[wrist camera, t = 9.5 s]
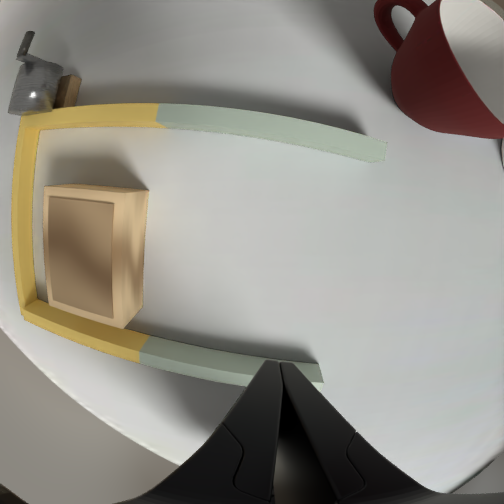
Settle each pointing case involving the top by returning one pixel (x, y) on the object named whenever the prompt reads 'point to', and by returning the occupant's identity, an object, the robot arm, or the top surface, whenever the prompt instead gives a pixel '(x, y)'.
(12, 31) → the top surface
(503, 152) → the white cup
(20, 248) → the bay
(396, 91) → the mug
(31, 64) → the winch
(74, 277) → the box
